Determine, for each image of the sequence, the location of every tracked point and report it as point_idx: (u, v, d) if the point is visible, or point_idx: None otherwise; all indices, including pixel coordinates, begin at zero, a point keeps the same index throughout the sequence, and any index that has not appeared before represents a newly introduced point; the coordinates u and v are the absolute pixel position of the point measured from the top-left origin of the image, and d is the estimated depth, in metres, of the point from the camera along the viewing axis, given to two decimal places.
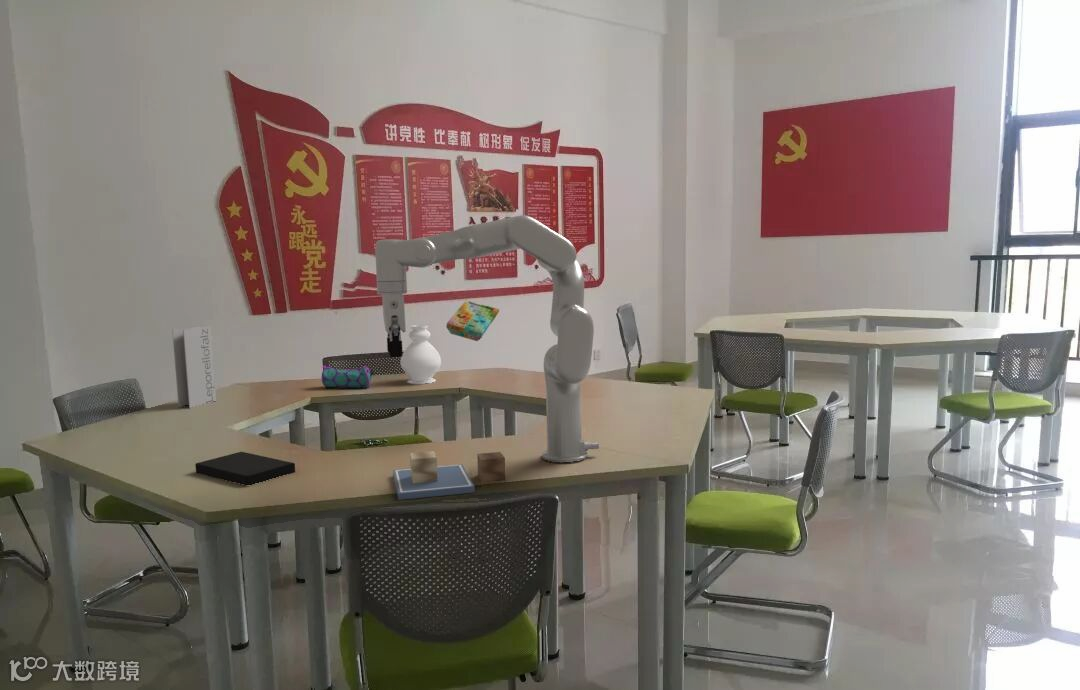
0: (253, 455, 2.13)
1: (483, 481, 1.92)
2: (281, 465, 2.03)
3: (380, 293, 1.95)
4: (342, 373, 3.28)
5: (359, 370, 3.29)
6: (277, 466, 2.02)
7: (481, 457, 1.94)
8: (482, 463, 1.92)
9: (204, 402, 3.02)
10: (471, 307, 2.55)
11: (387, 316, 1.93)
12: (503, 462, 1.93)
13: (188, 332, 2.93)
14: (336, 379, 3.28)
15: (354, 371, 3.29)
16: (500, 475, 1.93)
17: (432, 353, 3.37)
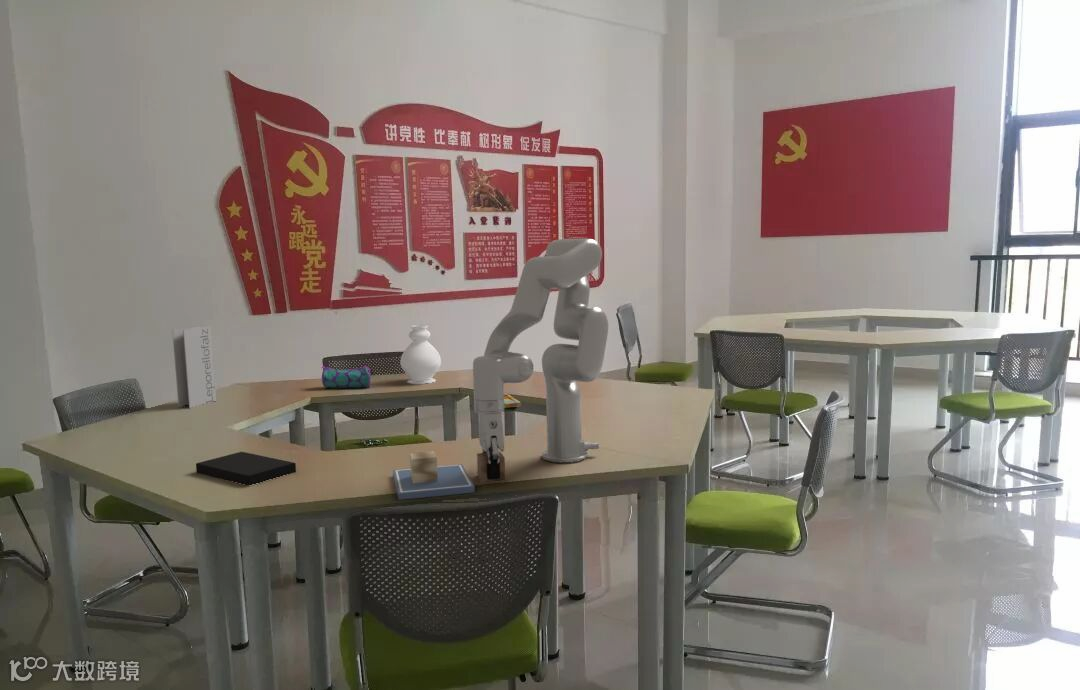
0: (253, 455, 2.13)
1: (483, 481, 1.92)
2: (282, 465, 2.03)
3: (478, 412, 1.91)
4: (342, 373, 3.28)
5: (360, 370, 3.29)
6: (278, 466, 2.02)
7: (481, 457, 1.94)
8: (482, 463, 1.92)
9: (204, 402, 3.02)
10: (509, 401, 2.77)
11: (486, 436, 1.89)
12: (503, 462, 1.93)
13: (188, 332, 2.93)
14: (337, 380, 3.27)
15: (355, 371, 3.29)
16: None
17: (432, 353, 3.37)
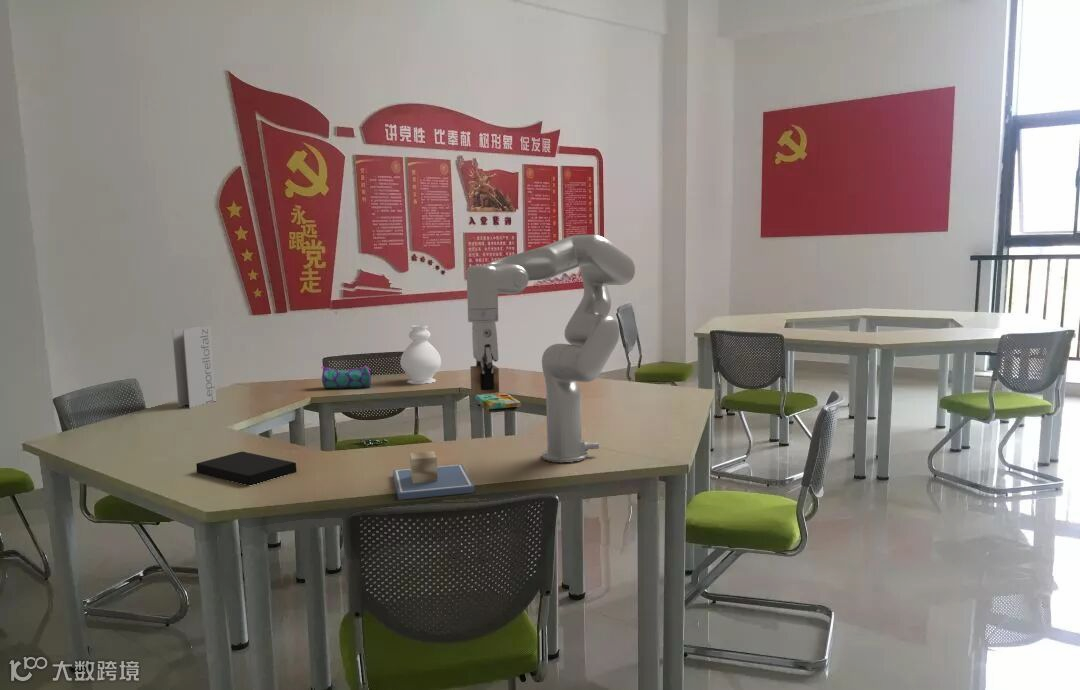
0: (254, 455, 2.13)
1: (476, 392, 1.89)
2: (282, 465, 2.03)
3: (472, 321, 1.88)
4: (343, 373, 3.28)
5: (360, 370, 3.30)
6: (278, 466, 2.02)
7: (474, 368, 1.91)
8: (475, 373, 1.89)
9: (204, 402, 3.02)
10: (509, 401, 2.77)
11: (480, 345, 1.86)
12: (497, 373, 1.90)
13: (188, 332, 2.93)
14: (338, 380, 3.27)
15: (355, 371, 3.29)
16: None
17: (432, 353, 3.37)
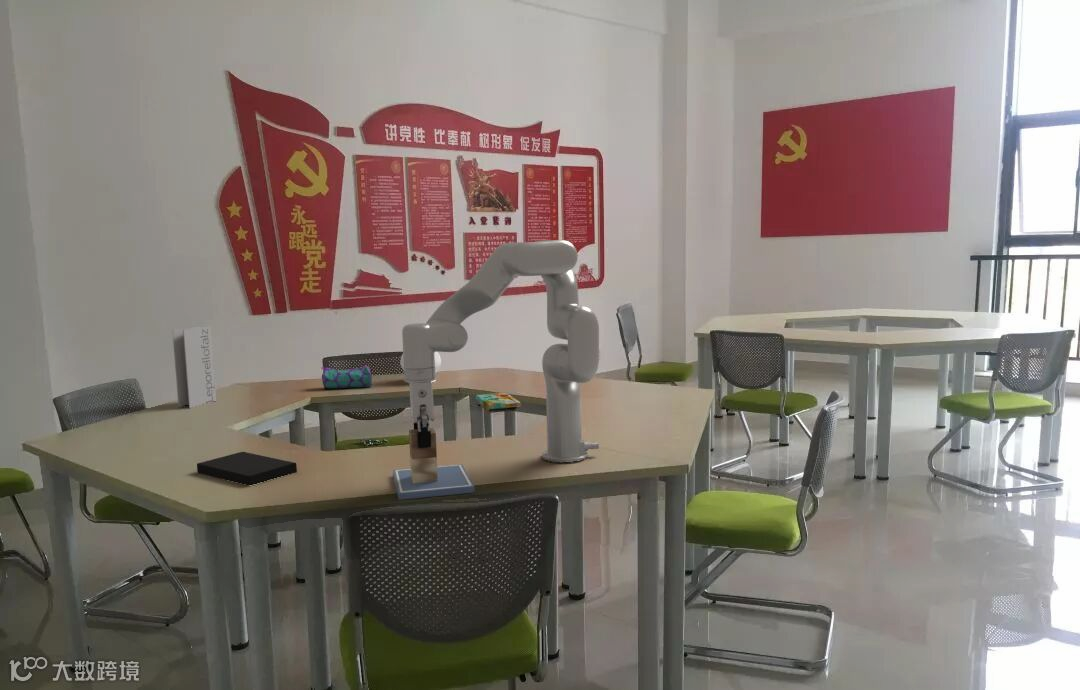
0: (254, 455, 2.13)
1: (413, 457, 1.87)
2: (283, 465, 2.03)
3: (408, 381, 1.86)
4: (344, 373, 3.27)
5: (361, 369, 3.30)
6: (279, 466, 2.02)
7: (412, 433, 1.89)
8: (412, 439, 1.87)
9: (204, 402, 3.02)
10: (509, 401, 2.77)
11: (415, 405, 1.84)
12: (434, 438, 1.88)
13: (188, 332, 2.93)
14: (339, 380, 3.26)
15: (356, 371, 3.29)
16: (430, 451, 1.88)
17: None
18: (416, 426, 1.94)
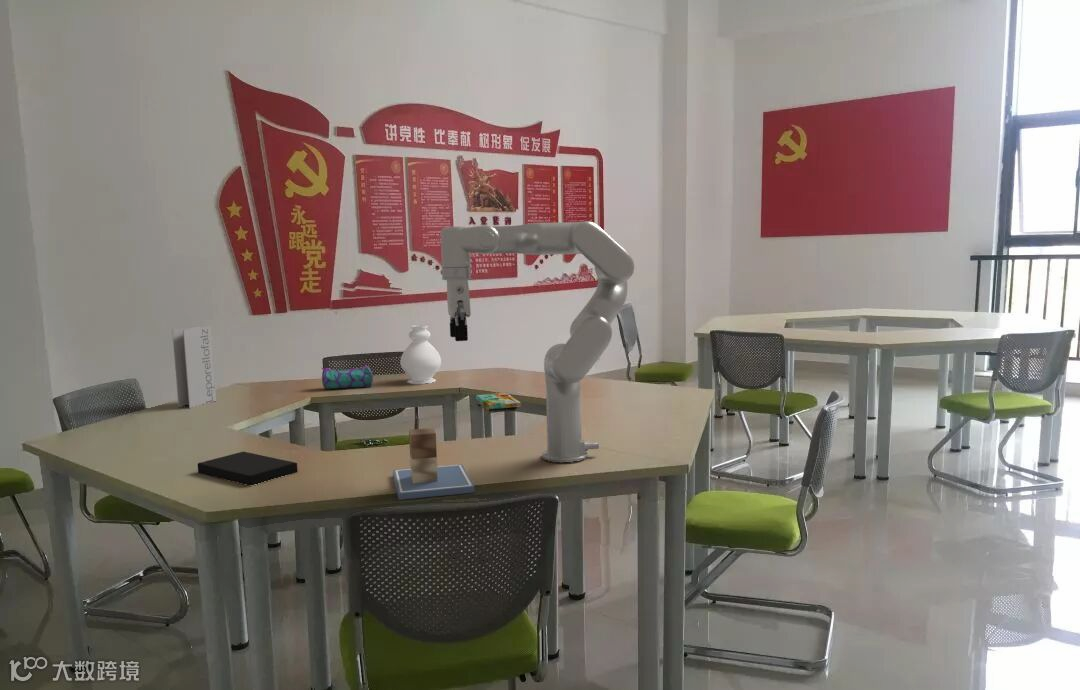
0: (255, 455, 2.13)
1: (413, 457, 1.87)
2: (283, 465, 2.03)
3: (446, 279, 2.00)
4: (345, 373, 3.27)
5: (361, 369, 3.31)
6: (279, 466, 2.02)
7: (412, 433, 1.89)
8: (412, 439, 1.87)
9: (204, 402, 3.02)
10: (509, 401, 2.77)
11: (453, 301, 1.99)
12: (434, 438, 1.88)
13: (188, 332, 2.93)
14: (340, 380, 3.26)
15: (356, 371, 3.30)
16: (430, 451, 1.88)
17: (432, 353, 3.37)
18: (452, 325, 2.09)
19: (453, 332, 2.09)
